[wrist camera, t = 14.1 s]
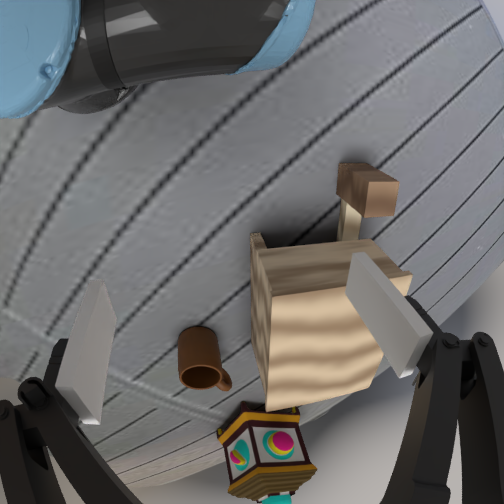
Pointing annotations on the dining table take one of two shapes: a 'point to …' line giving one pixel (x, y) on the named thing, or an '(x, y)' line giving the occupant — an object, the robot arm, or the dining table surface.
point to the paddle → (363, 197)
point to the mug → (201, 360)
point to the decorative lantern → (265, 455)
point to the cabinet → (312, 321)
